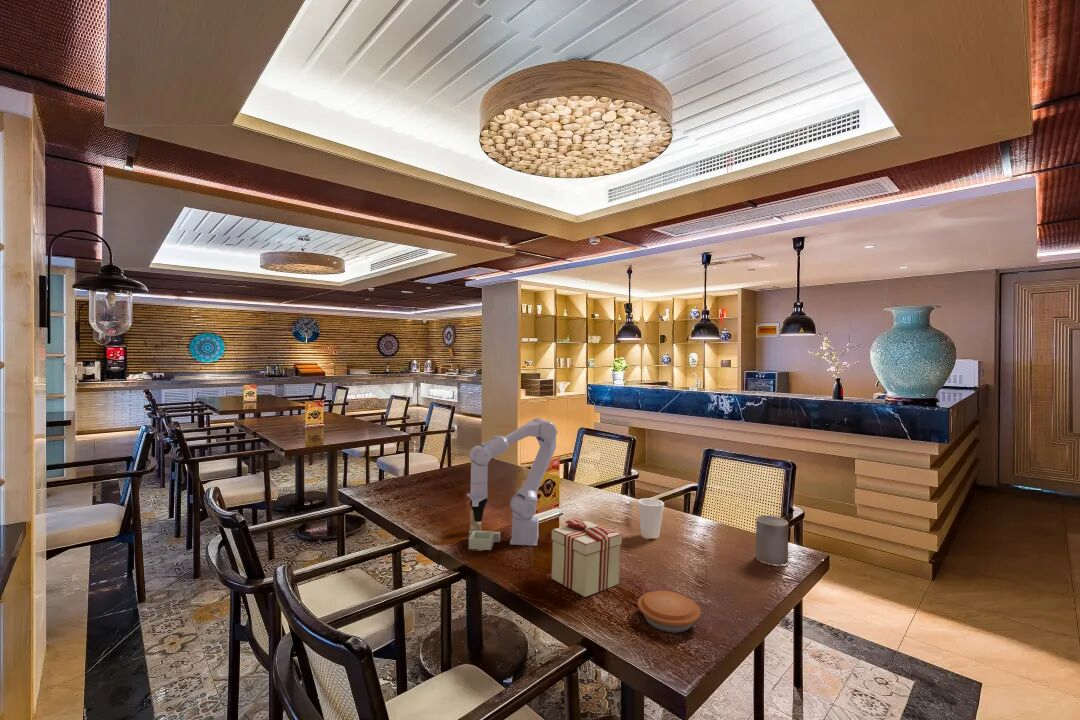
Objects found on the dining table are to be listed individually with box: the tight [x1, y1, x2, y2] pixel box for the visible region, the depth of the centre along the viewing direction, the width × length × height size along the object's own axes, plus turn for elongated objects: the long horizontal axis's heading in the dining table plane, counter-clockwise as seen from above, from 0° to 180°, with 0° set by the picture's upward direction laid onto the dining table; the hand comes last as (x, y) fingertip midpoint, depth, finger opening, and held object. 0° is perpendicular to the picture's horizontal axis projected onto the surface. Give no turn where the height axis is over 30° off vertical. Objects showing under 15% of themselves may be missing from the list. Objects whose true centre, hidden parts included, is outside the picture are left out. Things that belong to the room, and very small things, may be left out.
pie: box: [636, 590, 701, 633], centre depth 122 cm, size 15×16×5 cm
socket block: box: [468, 530, 495, 551], centre depth 167 cm, size 8×8×4 cm
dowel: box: [469, 509, 482, 531], centre depth 179 cm, size 4×4×8 cm
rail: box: [468, 529, 501, 543], centre depth 171 cm, size 11×2×3 cm, turn 87°
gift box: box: [551, 517, 623, 598], centre depth 143 cm, size 17×18×17 cm
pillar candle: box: [755, 515, 789, 565], centre depth 160 cm, size 10×10×15 cm
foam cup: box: [637, 497, 665, 538], centre depth 179 cm, size 10×9×13 cm
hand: (478, 521), depth 164 cm, fingers closed
